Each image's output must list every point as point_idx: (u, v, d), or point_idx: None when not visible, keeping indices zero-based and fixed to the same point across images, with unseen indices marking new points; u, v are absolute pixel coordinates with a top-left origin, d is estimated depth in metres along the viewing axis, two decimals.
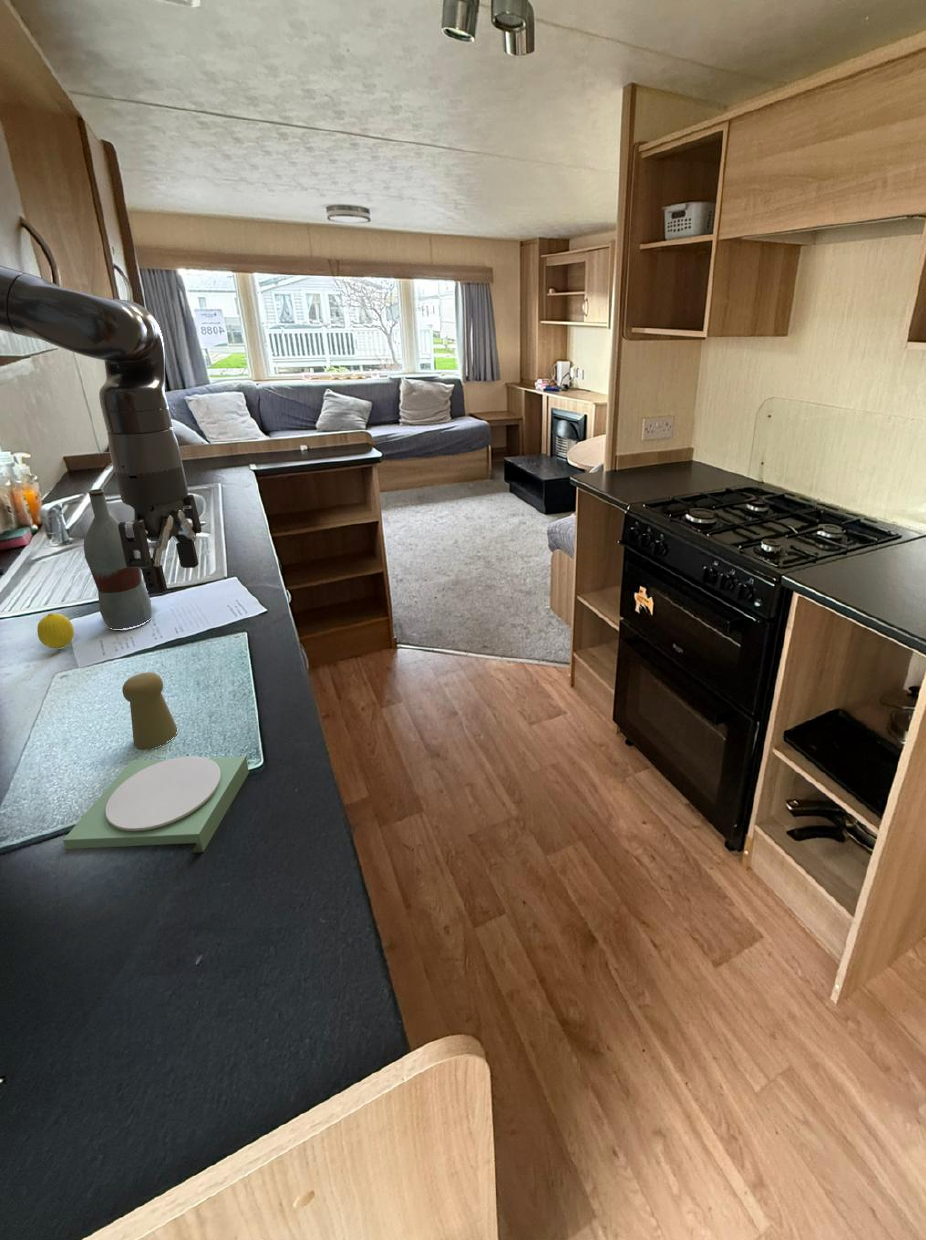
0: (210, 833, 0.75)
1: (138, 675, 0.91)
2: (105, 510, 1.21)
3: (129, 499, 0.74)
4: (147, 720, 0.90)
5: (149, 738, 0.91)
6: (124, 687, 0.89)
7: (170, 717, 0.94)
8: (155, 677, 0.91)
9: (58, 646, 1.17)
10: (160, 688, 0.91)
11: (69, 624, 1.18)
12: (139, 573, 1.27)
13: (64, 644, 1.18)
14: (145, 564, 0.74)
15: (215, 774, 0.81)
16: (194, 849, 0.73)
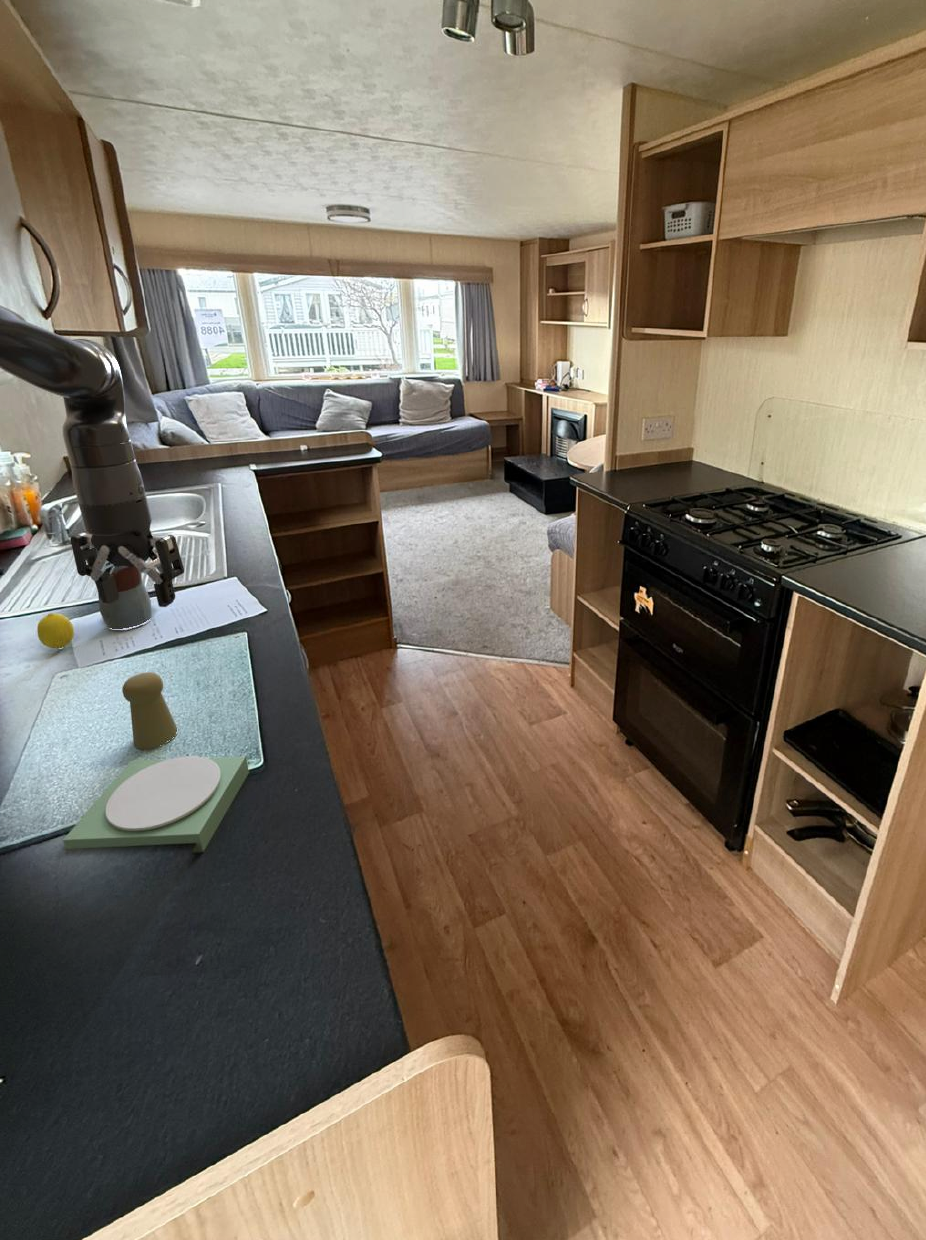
0: (210, 833, 0.75)
1: (138, 675, 0.91)
2: None
3: (136, 524, 0.80)
4: (147, 720, 0.90)
5: (149, 738, 0.91)
6: (124, 687, 0.89)
7: (170, 717, 0.94)
8: (155, 677, 0.91)
9: (58, 646, 1.17)
10: (160, 688, 0.91)
11: (69, 624, 1.18)
12: (139, 573, 1.27)
13: (64, 644, 1.18)
14: (183, 569, 0.84)
15: (215, 774, 0.81)
16: (194, 849, 0.73)
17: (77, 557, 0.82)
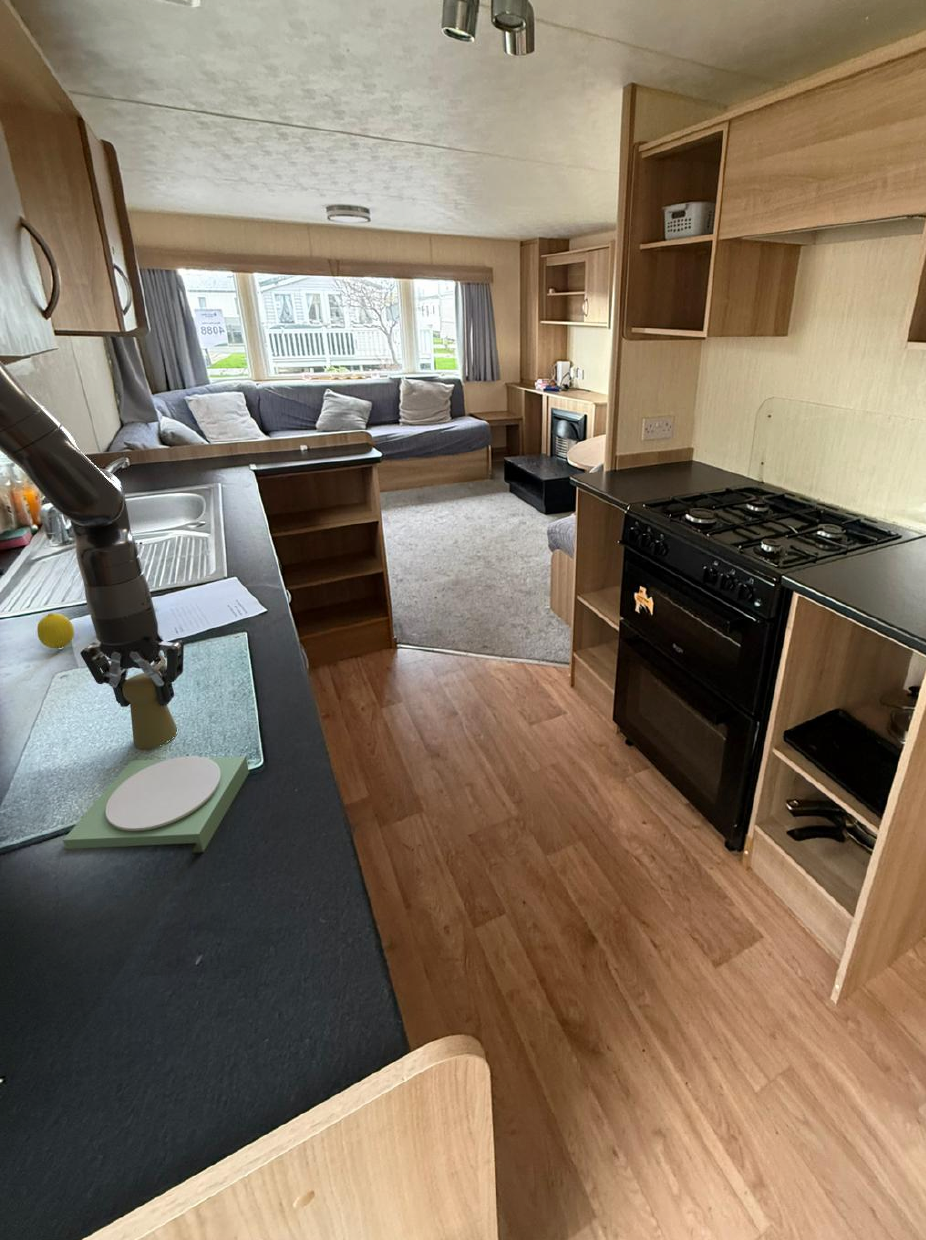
0: (210, 833, 0.75)
1: (138, 675, 0.91)
2: None
3: (147, 630, 0.87)
4: (147, 720, 0.90)
5: (149, 738, 0.91)
6: (124, 687, 0.89)
7: (170, 717, 0.94)
8: None
9: (58, 646, 1.17)
10: None
11: (69, 624, 1.18)
12: None
13: (64, 644, 1.18)
14: (182, 670, 0.92)
15: (215, 774, 0.81)
16: (194, 849, 0.73)
17: (92, 668, 0.88)
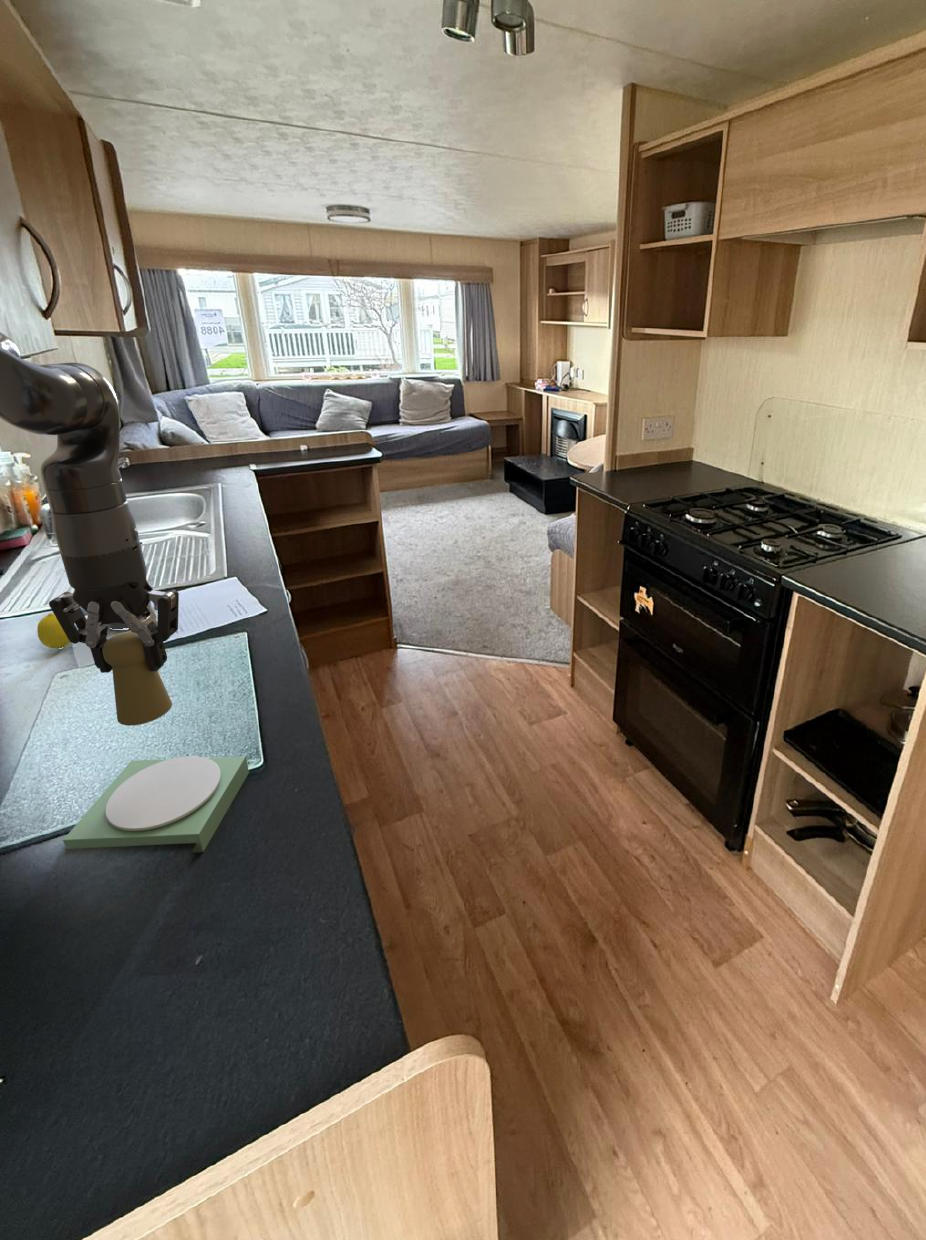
0: (210, 833, 0.75)
1: (122, 633, 0.74)
2: None
3: (133, 575, 0.69)
4: (133, 688, 0.73)
5: (136, 711, 0.74)
6: (104, 647, 0.71)
7: (162, 686, 0.76)
8: None
9: (58, 646, 1.17)
10: None
11: None
12: None
13: (64, 644, 1.18)
14: (177, 628, 0.74)
15: (215, 774, 0.81)
16: (194, 849, 0.73)
17: (64, 623, 0.70)
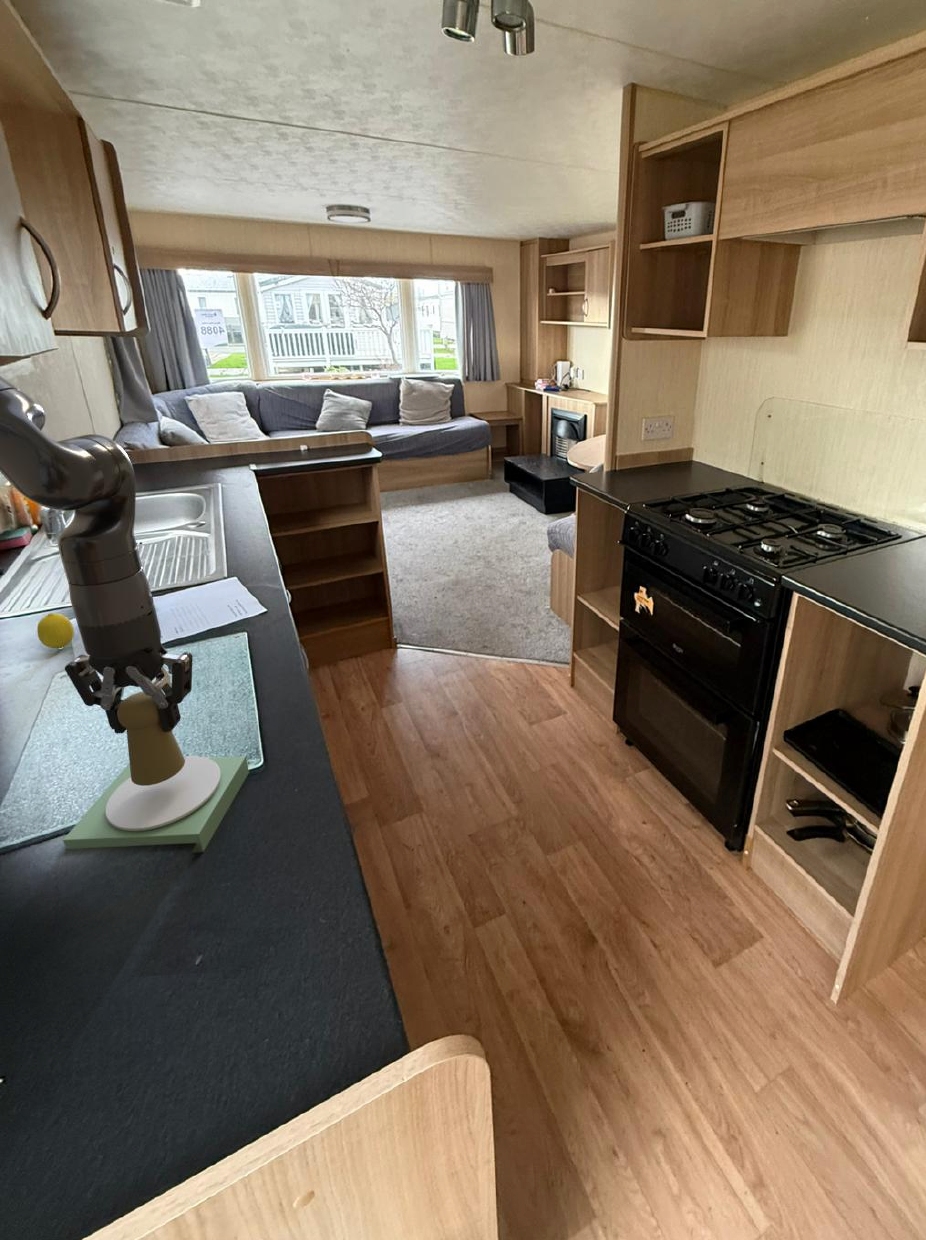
0: (210, 833, 0.75)
1: (136, 694, 0.74)
2: None
3: (148, 640, 0.70)
4: (147, 749, 0.74)
5: (150, 771, 0.74)
6: (119, 710, 0.72)
7: (175, 745, 0.77)
8: None
9: (58, 646, 1.17)
10: None
11: (69, 624, 1.18)
12: None
13: (64, 644, 1.18)
14: (191, 689, 0.75)
15: (215, 774, 0.81)
16: (194, 849, 0.73)
17: (79, 687, 0.71)
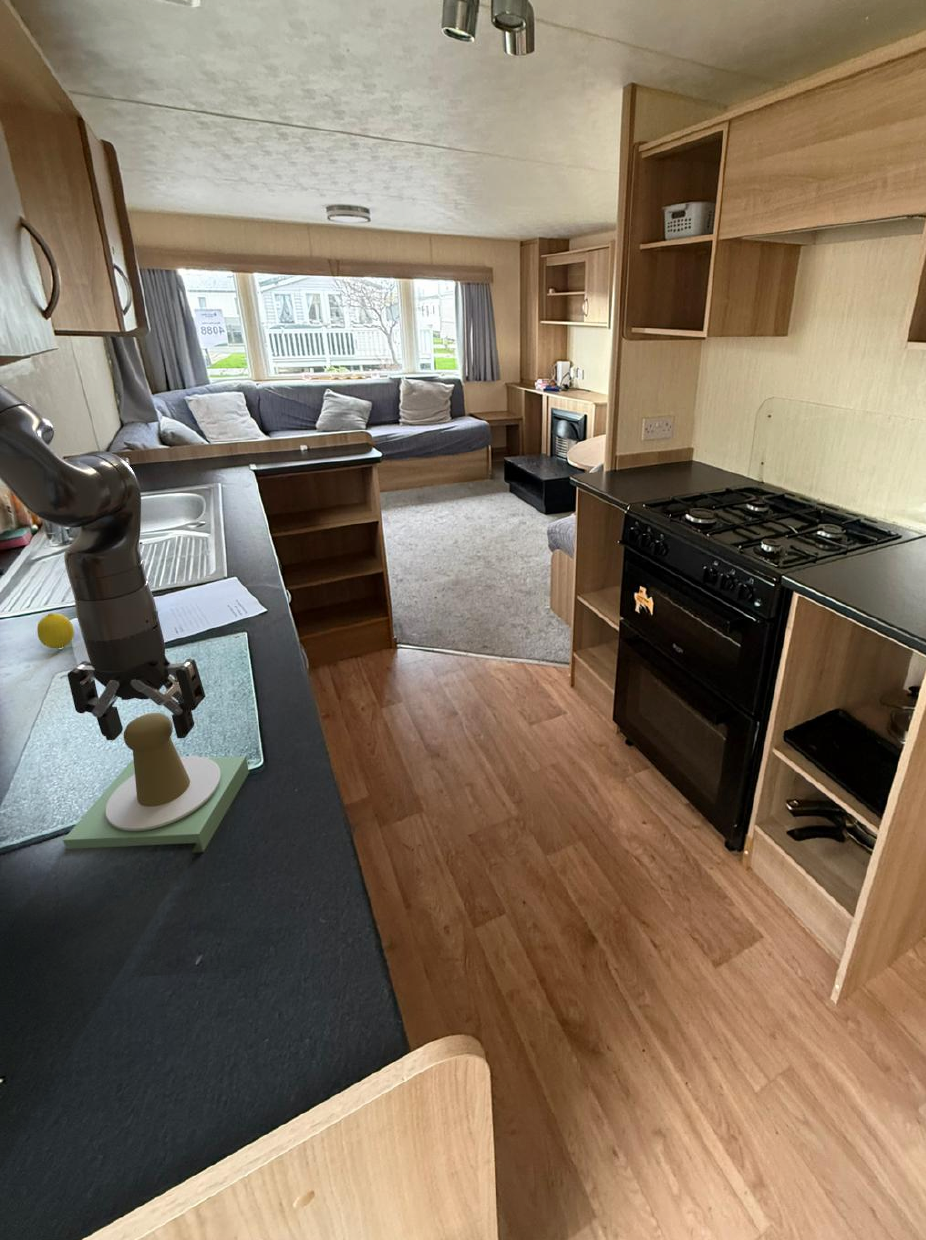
0: (210, 833, 0.75)
1: (143, 717, 0.75)
2: None
3: (152, 654, 0.70)
4: (153, 771, 0.75)
5: (156, 793, 0.75)
6: (126, 732, 0.73)
7: (181, 766, 0.78)
8: (163, 719, 0.75)
9: (58, 646, 1.17)
10: (169, 732, 0.75)
11: (69, 624, 1.18)
12: None
13: (64, 644, 1.18)
14: (204, 694, 0.75)
15: (215, 774, 0.81)
16: (194, 849, 0.73)
17: (76, 693, 0.72)
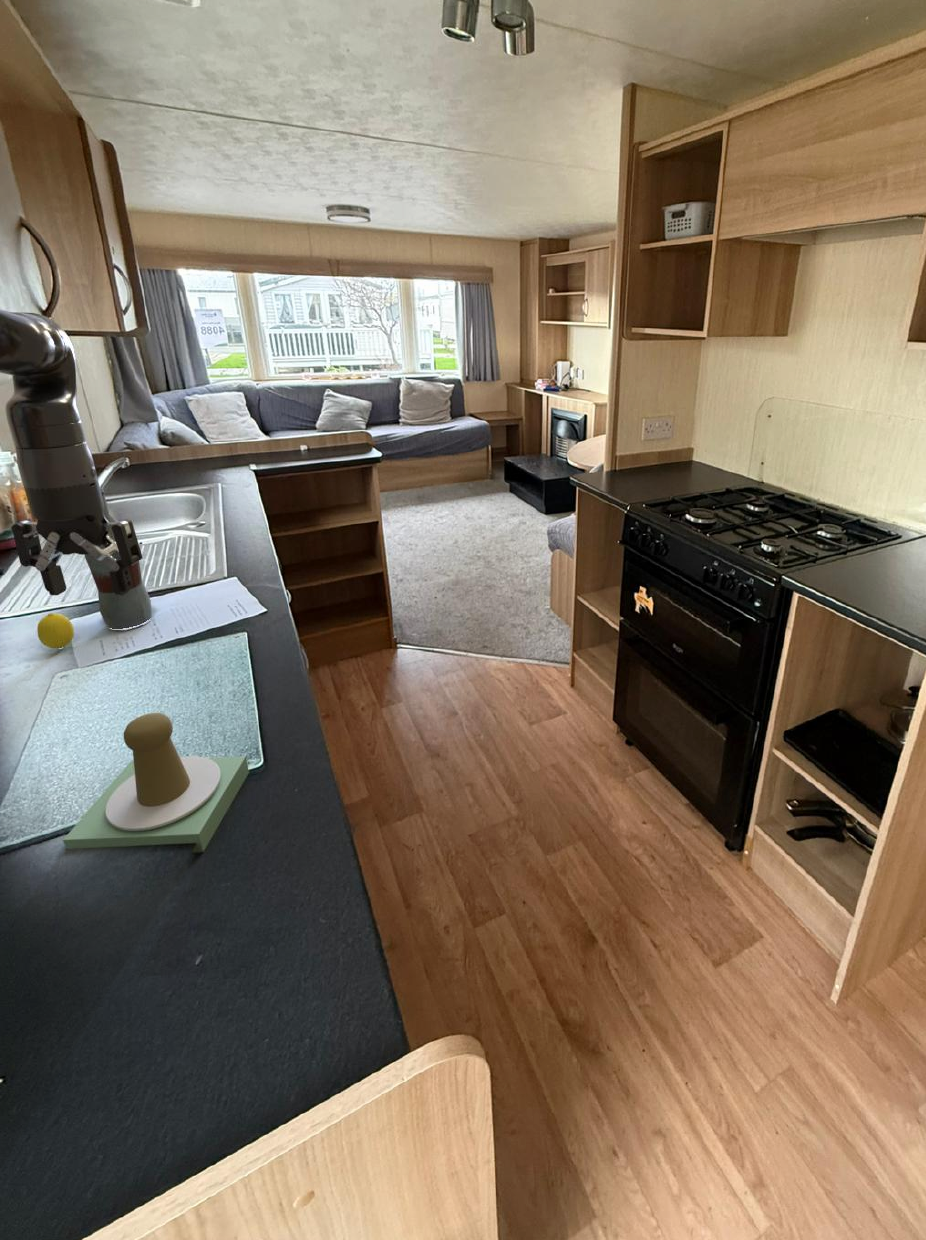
0: (210, 833, 0.75)
1: (143, 717, 0.75)
2: (105, 510, 1.21)
3: (90, 508, 0.76)
4: (153, 771, 0.75)
5: (156, 793, 0.75)
6: (126, 732, 0.73)
7: (181, 766, 0.78)
8: (163, 719, 0.75)
9: (58, 646, 1.17)
10: (169, 732, 0.75)
11: (69, 624, 1.18)
12: (139, 573, 1.27)
13: (64, 644, 1.18)
14: (141, 555, 0.81)
15: (215, 774, 0.81)
16: (194, 849, 0.73)
17: (20, 546, 0.77)
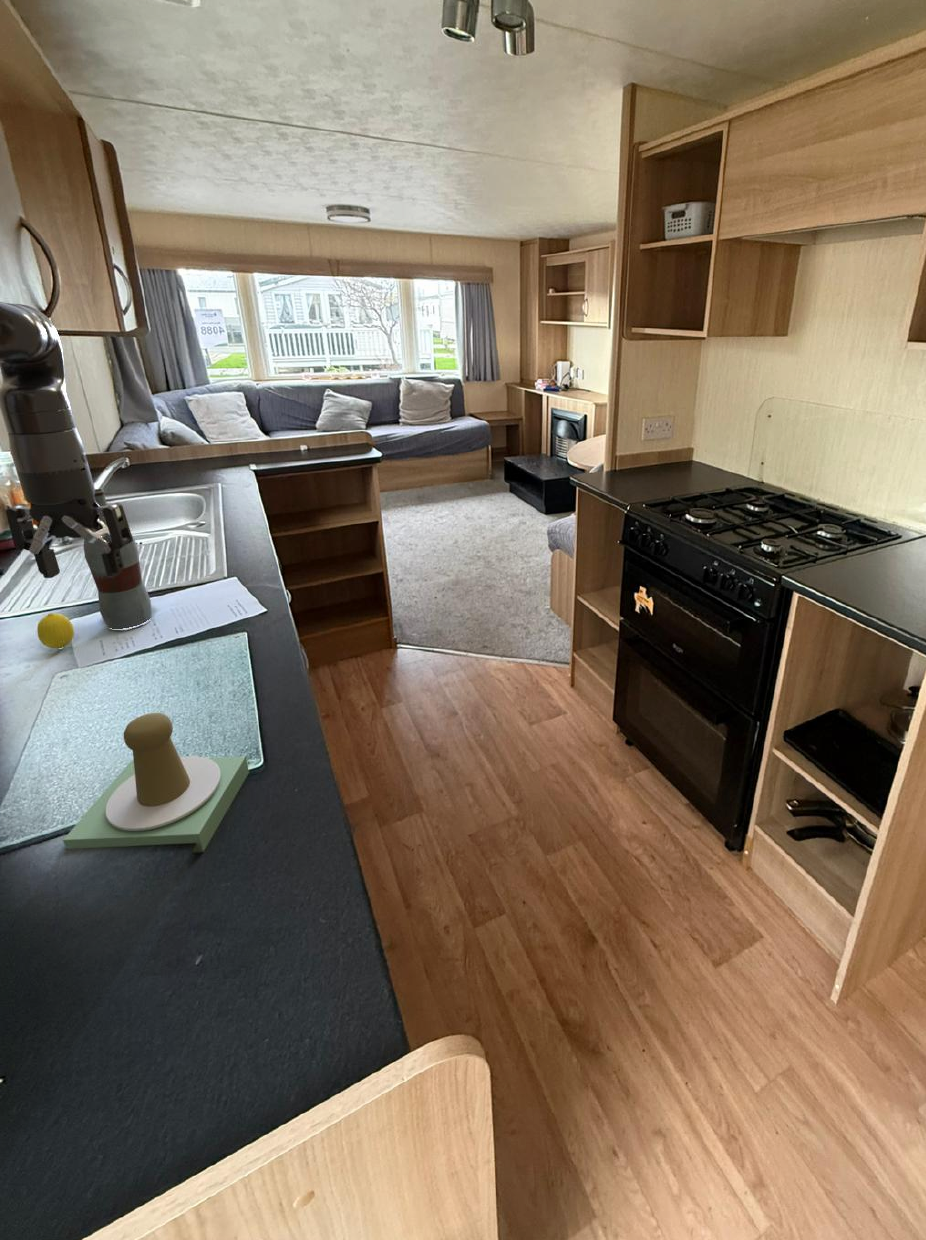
0: (210, 833, 0.75)
1: (143, 717, 0.75)
2: None
3: (81, 492, 0.79)
4: (153, 771, 0.75)
5: (156, 793, 0.75)
6: (126, 732, 0.73)
7: (181, 766, 0.78)
8: (163, 719, 0.75)
9: (58, 646, 1.17)
10: (169, 732, 0.75)
11: (69, 624, 1.18)
12: (139, 573, 1.27)
13: (64, 644, 1.18)
14: (132, 538, 0.84)
15: (215, 774, 0.81)
16: (194, 849, 0.73)
17: (14, 530, 0.80)
